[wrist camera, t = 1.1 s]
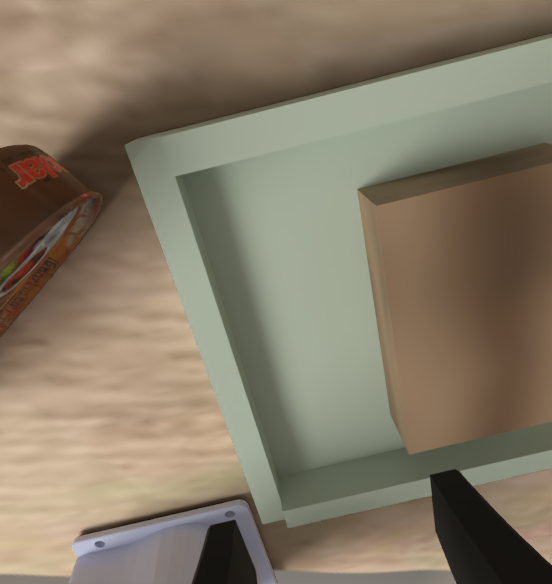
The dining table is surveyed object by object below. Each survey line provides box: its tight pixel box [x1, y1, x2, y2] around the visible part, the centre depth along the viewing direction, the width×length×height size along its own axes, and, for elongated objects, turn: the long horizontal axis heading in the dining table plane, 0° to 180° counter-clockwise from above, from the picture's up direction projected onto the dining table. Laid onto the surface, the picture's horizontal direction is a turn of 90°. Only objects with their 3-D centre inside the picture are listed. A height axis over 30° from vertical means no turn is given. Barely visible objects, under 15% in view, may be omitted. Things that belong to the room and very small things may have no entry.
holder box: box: [124, 33, 552, 528], centre depth 18 cm, size 15×18×2 cm
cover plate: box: [357, 143, 552, 455], centre depth 17 cm, size 7×11×2 cm, turn 13°
